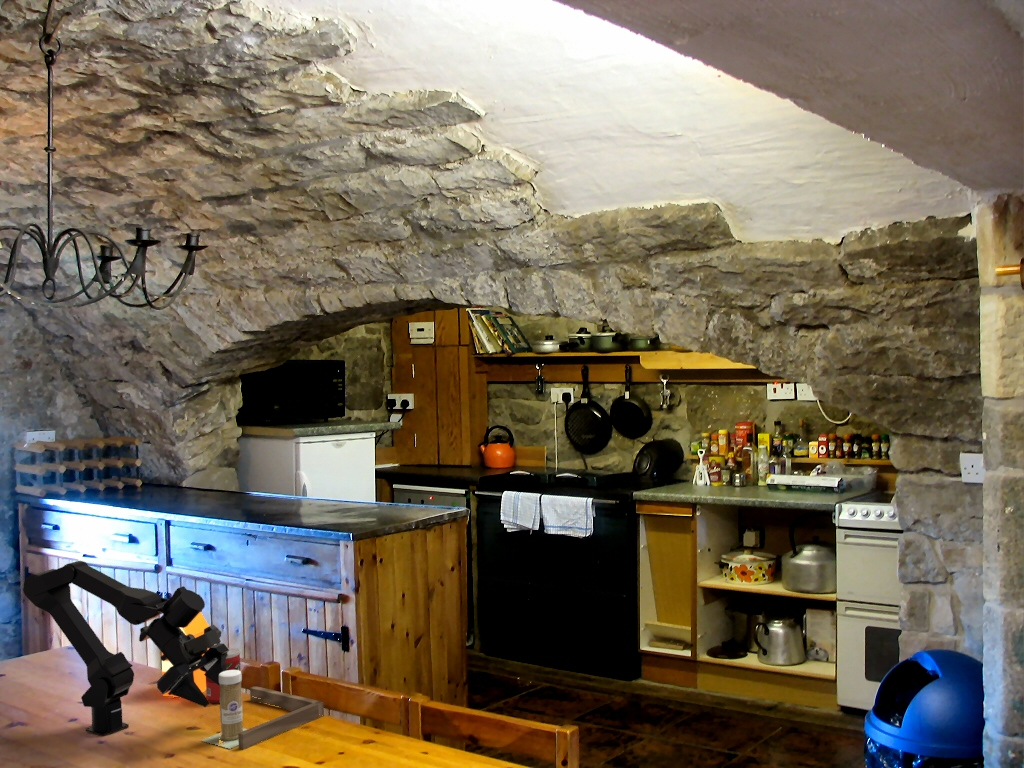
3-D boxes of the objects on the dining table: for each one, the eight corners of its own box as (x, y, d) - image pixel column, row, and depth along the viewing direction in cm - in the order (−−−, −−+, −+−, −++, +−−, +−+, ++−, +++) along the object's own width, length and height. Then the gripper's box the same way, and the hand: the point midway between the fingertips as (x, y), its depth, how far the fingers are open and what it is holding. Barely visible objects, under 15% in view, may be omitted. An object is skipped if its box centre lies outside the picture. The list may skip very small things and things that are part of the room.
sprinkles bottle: (227, 742, 194) (224, 677, 194) (217, 737, 198) (214, 672, 198) (247, 736, 197) (245, 671, 197) (237, 731, 201) (235, 667, 201)
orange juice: (162, 696, 226) (159, 612, 226) (186, 684, 234) (183, 603, 234) (190, 699, 224) (187, 614, 224) (213, 687, 232) (210, 605, 232)
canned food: (231, 704, 218) (229, 657, 218) (199, 703, 220) (198, 656, 220) (247, 693, 226) (245, 647, 226) (216, 692, 228) (214, 646, 228)
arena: (168, 731, 203) (167, 717, 203) (255, 699, 222) (255, 686, 222) (237, 752, 190) (237, 737, 190) (323, 715, 209) (323, 702, 209)
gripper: (168, 628, 190) (218, 686, 188) (220, 605, 208) (266, 659, 206) (135, 664, 192) (184, 723, 190) (189, 639, 210) (234, 693, 208)
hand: (219, 697), depth 198 cm, fingers open, 9 cm apart
